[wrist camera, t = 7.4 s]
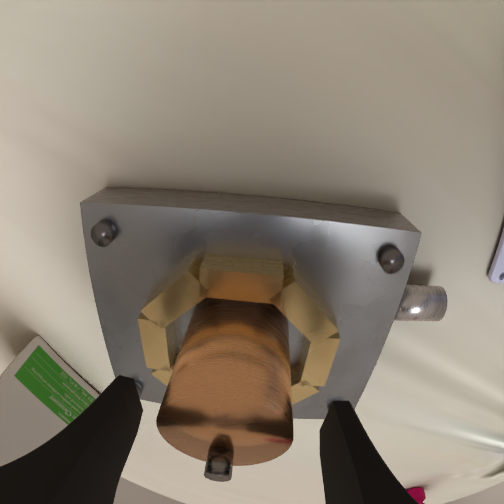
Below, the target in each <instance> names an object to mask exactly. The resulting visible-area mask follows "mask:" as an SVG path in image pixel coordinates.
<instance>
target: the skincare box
mask: <svg viewBox="0 0 504 504" xmlns="http://www.w3.org/2000/svg"><path fill="white" fill-rule="evenodd" d="M98 396H99V394H98V393H97V392H96V391H95V390H94V389H93V388H92V387H90V386H89V385H88V384H87V383H86V382H85V381H84V380H83V379H82V378H81V377H79V376H78V375H77V374H76V373H75V372H74V371H73V370H72V369H71V368H70V367H69V366H68V365H67V364H66V363H65V362H64V361H63V360H62V359H61V358H60V357H59V356H58V355H57V354H56V353H55V352H54V351H53V350H52V349H51V348H50V347H49V346H48V345H47V343H46V342H45V341H44V340H43V339H42V338H41V337H40V336H36V337H35V338H34V339H33V340H32V341H31V342H30V343H29V344H28V345H27V346H26V347H25V348H24V349H23V350H22V351H21V352H20V353H19V354H18V355H17V356H16V357H15V359H14V360H13V361H12V362H11V363H10V364H9V366H8V367H7V368H6V369H5V371H4V372H3V373H2V374H1V376H0V466H3V465H5V464H7V463H10V462H12V461H14V460H16V459H18V458H20V457H22V456H24V455H26V454H28V453H29V452H31V451H33V450H34V449H36V448H38V447H39V446H41V445H42V444H44V443H45V442H47V441H48V440H50V439H51V438H52V437H54V436H55V435H56V434H58V433H59V432H60V431H61V430H63V429H64V428H65V427H66V426H67V425H69V424H70V423H71V422H72V421H73V420H74V419H75V418H77V417H78V416H79V415H80V414H81V413H82V412H83V411H84V410H85V409H86V408H87V407H88V406H89V405H90V404H91V403H92V402H93V401H94V400H95V399H96V398H97V397H98Z"/></svg>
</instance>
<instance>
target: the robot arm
mask: <svg viewBox="0 0 504 504" xmlns="http://www.w3.org/2000/svg"><path fill="white" fill-rule="evenodd" d="M500 274H501V275H500ZM488 278H489V280H490V281H491V282H493V283H503V284H504V229H503V232H502V235H501V238H500V242H499V245H498V248H497V251H496V254H495V257H494V260H493V262H492V265H491V268H490V271H489V274H488ZM142 412H143V409H142V405H141V402H140V398H139V395H138V391H137V388H136V384H135V380H134V378H130V377H125V376H121V375H119V376H117V377H116V378H115V379H114V381H113V382H112V383H111V384H110V385H109V386H108V387H107V388H106V389H105V390H104V391H103V392H102V393H101V394H100V395H99V396H98V397H97V398H96V399H95V400H94V401H93V402H92V403H91V404H90V405H89V406H88V407H87V408H86V409H85V410H84V411H83V412H82V413H81V414H80V415H79V416H78V417H77V418H75V419H74V420H73V421H72V422H71V423H70V424H69V425H67V426H66V427H65V428H64V429H63V430H61V431H60V432H59V433H58V434H56V435H55V436H54V437H52V438H51V439H50V440H48V441H47V442H45V443H44V444H42V445H41V446H39V447H38V448H36V449H34V450H33V451H31V452H29V453H28V454H26V455H24V456H22V457H20V458H18V459H16V460H14V461H12V462H10V463H7V464H5V465H3V466H0V504H113V502H114V497H115V492H116V489H117V485H118V482H119V479H120V476H121V473H122V471H123V468H124V465H125V463H126V460H127V458H128V455H129V453H130V450H131V448H132V445H133V443H134V440H135V437H136V435H137V432H138V428H139V424H140V420H141V416H142ZM320 459H321V467H322V476H323V484H324V492H325V501H326V504H419V503H418V502H417V501H416V500H415V499H414V498H413V497H412V496H411V495H410V494H409V493H408V492H407V491H406V490H405V488H404V487H403V486H402V485H401V484H400V482H399V481H398V480H397V479H396V477H395V476H394V475H393V473H392V472H391V471H390V469H389V468H388V467H387V465H386V464H385V462H384V461H383V459H382V458H381V456H380V455H379V453H378V452H377V450H376V448H375V447H374V445H373V443H372V442H371V440H370V438H369V437H368V435H367V433H366V431H365V429H364V428H363V426H362V424H361V422H360V420H359V418H358V416H357V414H356V412H355V410H354V408H353V406H352V404H351V402H350V401H332V404H331V406H330V408H329V411H328V413H327V415H326V417H325V420H324V422H323V424H322V426H321V429H320Z"/></svg>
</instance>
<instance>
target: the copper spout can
mask: <svg viewBox="0 0 504 504" xmlns="http://www.w3.org/2000/svg"><path fill="white" fill-rule="evenodd" d="M156 421H157V428H158V430H159V432H160V434H161V435H162V437H163V438H164V439H165V440H166V441H167V442H168V443H169V444H170V445H172V446H173V447H174V448H176V449H177V450H179V451H181V452H183V453H184V454H187V455H189V456H191V457H194V458H196V459H199V460H202V461H206V466H205V472H204V476H205V477H206V478H208V479H210V480H213V481H220V482H224V481H229V480H231V476H232V467H233V466H243V465H253V464H259V463H263V462H267V461H270V460H272V459H275V458H277V457H279V456H280V455H282V454H283V453H285V452H286V451H287V450H288V449H289V447H290V446H291V444H292V442H293V412H292V388H291V367H290V348H289V330H288V323H287V320H286V318H285V316H284V314H283V313H282V312H281V311H280V310H279V309H278V308H277V307H276V306H275V305H274V304H269V303H258V302H248V301H237V300H227V299H218V298H209V297H207V298H205V299H204V300H203V301H201V302H200V303H199V304H198V306H197V307H196V308H195V310H194V312H193V314H192V317H191V319H190V322H189V325H188V328H187V331H186V333H185V336H184V339H183V342H182V345H181V348H180V351H179V353H178V356H177V359H176V362H175V365H174V368H173V371H172V374H171V377H170V380H169V383H168V386H167V389H166V392H165V394H164V398H163V401H162V404H161V407H160V410H159V413H158V416H157V420H156Z"/></svg>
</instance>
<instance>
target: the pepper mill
mask: <svg viewBox="0 0 504 504" xmlns="http://www.w3.org/2000/svg"><path fill="white" fill-rule="evenodd" d="M406 491H407V492H408V493H409V494H410V495H411V496H412V497H413V498H414V499H415V500H416V501H417V502H418V503H419V504H424V503H423V501H424V500H425V498H426V497H425V493H424V489H423V488H421V487H417V488H411V489H407V490H406Z"/></svg>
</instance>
